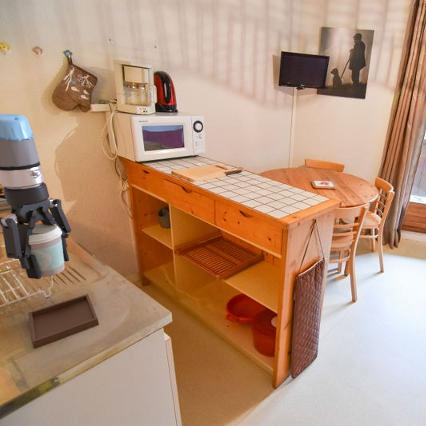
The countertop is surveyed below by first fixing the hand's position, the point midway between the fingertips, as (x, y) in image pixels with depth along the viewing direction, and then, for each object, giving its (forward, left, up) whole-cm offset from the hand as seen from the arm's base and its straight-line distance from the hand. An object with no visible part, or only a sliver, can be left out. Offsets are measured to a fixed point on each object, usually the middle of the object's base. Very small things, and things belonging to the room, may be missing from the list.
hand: (49, 268), depth 82 cm
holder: (+2, -2, -15) cm, 15 cm away
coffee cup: (0, 0, -1) cm, 1 cm away
